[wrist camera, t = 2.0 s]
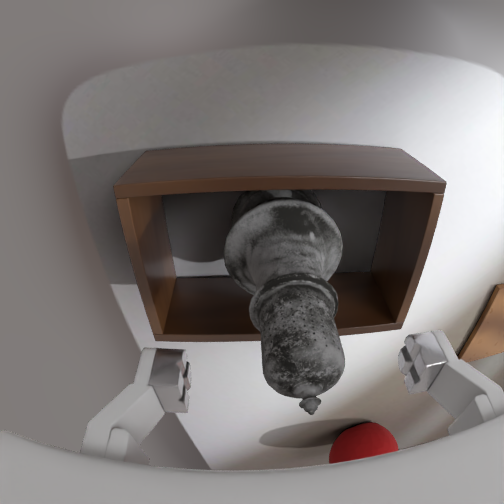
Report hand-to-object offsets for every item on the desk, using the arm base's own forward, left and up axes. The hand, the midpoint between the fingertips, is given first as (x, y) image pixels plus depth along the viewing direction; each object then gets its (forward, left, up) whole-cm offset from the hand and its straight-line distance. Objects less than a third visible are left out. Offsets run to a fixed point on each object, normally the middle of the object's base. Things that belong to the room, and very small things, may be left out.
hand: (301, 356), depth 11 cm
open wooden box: (0, 0, -10) cm, 10 cm away
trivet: (+12, +26, -10) cm, 30 cm away
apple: (+31, +12, -10) cm, 34 cm away
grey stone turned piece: (0, 0, -10) cm, 10 cm away
